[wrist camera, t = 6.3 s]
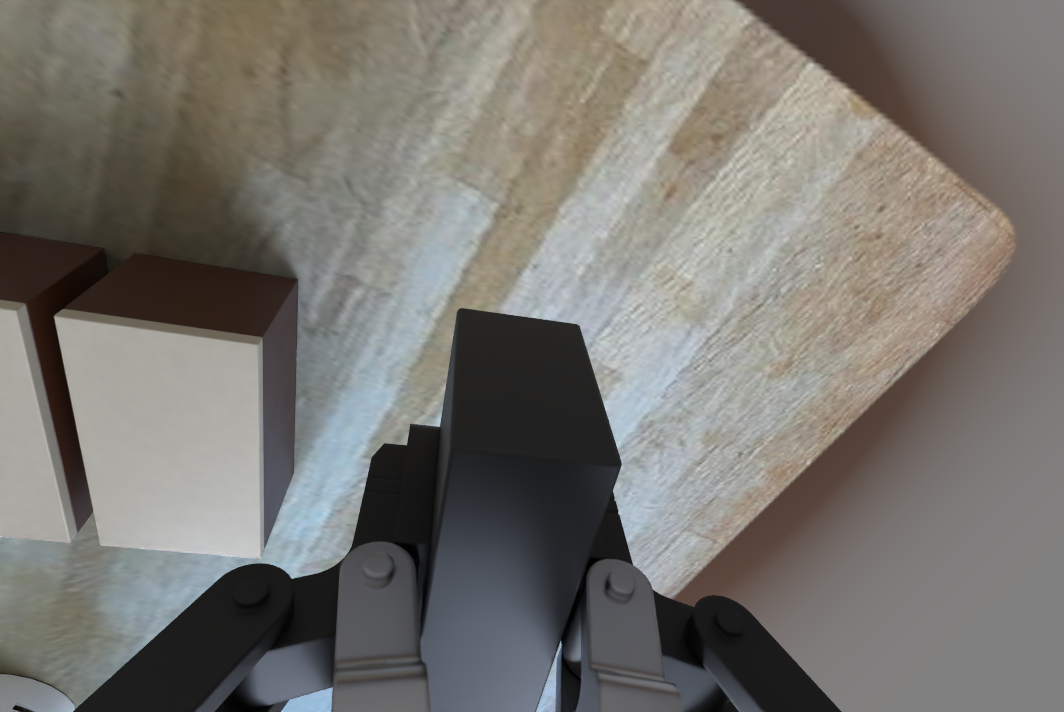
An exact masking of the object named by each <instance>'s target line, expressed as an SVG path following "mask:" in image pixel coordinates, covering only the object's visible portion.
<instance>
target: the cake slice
mask: <svg viewBox="0 0 1064 712" xmlns="http://www.w3.org/2000/svg"><path fill="white" fill-rule="evenodd" d="M106 275H107V267H106V260H105V254H104V249H103V248H97V247H91V246H84V245H78V244H72V243H66V242H59V241H53V240H47V239H41V238H34V237H28V236H22V235H16V234H9V233H3V232H0V537H8V538H20V539H32V540H44V541H56V542H68V543H70V542H71V541H72V540H73V538H74V537H75V536H76V534H77V532H79V530H80V529H81V528H82V526H83V525H84V524H85V522H86V521H87V520H88V518H89V517H90V515H91V514H92V513H93V507H92V502H91V497H90V492H89V487H88V482H87V477H86V472H85V467H84V462H83V457H82V452H81V448H80V443H79V438H78V433H77V428H76V423H75V418H74V413H73V408H72V403H71V398H70V393H69V388H68V383H67V378H66V373H65V368H64V363H63V359H62V354H61V349H60V344H59V339H58V334H57V329H56V324H55V319H54V316H55V315H56V314H57V313H58V312H59V311H61V310H62V309H64V307H66V306H67V305H68V304H70V303H71V302H72V301H74V300H75V299H76V298H77V297H79V296H80V295H81V294H83V293H84V292H85V291H86V290H88V289H89V288H90V287H92V286H93V285H94V284H95V283H97V282H98V281H99V280H101V279H102V278H103V277H105V276H106Z"/></svg>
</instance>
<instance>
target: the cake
mask: <svg viewBox="0 0 1064 712" xmlns="http://www.w3.org/2000/svg"><path fill="white" fill-rule="evenodd" d="M297 313H298V280H297V279H291V278H285V277H279V276H272V275H266V274H260V273H254V272H247V271H241V270H235V269H229V268H222V267H216V266H210V265H204V264H197V263H191V262H185V261H179V260H172V259H166V258H160V257H153V256H147V255H141V254H133V255H132V256H130V257H129V258H128V259H127V260H125V261H124V262H123V263H121V264H120V265H119V266H117V267H116V268H115V269H114V270H112V271H111V272H110V273H108V274H107V275H106V276H105V277H103V278H102V279H101V280H99V281H98V282H97V283H95V284H94V285H93V286H92V287H90V288H89V289H88V290H86V291H85V292H84V293H83V294H81V295H80V296H79V297H77V298H76V299H75V300H74V301H72V302H71V303H70V304H68V305H67V306H66V307H64V309H62V310H61V311H59V312H58V313H57V314H56V315H55V316H54V319H55V324H56V329H57V334H58V339H59V344H60V349H61V354H62V359H63V363H64V368H65V373H66V378H67V383H68V388H69V393H70V398H71V403H72V408H73V413H74V418H75V423H76V428H77V433H78V438H79V443H80V448H81V452H82V457H83V462H84V467H85V472H86V477H87V482H88V487H89V492H90V497H91V502H92V507H93V512H94V517H95V522H96V527H97V532H98V537H99V542H100V545H102V546H114V547H126V548H137V549H149V550H161V551H173V552H185V553H197V554H209V555H221V556H233V557H245V558H257V559H261V557H262V554H263V552H264V549H265V547H266V544H267V541H268V539H269V536H270V534H271V531H272V528H273V526H274V523H275V521H276V518H277V515H278V513H279V510H280V508H281V505H282V502H283V500H284V497H285V495H286V492H287V489H288V487H289V484H290V482H291V479H292V476H293V474H294V438H295V396H296V355H297Z"/></svg>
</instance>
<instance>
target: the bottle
mask: <svg viewBox="0 0 1064 712" xmlns="http://www.w3.org/2000/svg"><path fill="white" fill-rule="evenodd" d="M15 705H17V706H20V707H23V708H26V709H29V710H32V711H34V712H73V711H74V710H75V707H74V704H73V703H72V702H71V701H70V700H69V699H68V698H67V697H66V696H65V695H64V694H63V693H61V692H59V691H58V690H56V689H55V688H53V687H51V686H49V685H47V684H44V683H41V682H39V681H36V680H33V679H30V678H25V677H20V676H15V675H6V674H0V712H19V711H16V710H13V707H14V706H15Z"/></svg>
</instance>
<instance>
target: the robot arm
mask: <svg viewBox="0 0 1064 712" xmlns="http://www.w3.org/2000/svg"><path fill="white" fill-rule="evenodd" d="M439 439H440V427H435V426H426V425H417V424H410V430H409V437H408V443H407V446H406V445H396V444H386V443H384V444H383V446H382V447H381V448H380V449H379V450H378V451H377V452H376V453H375V454H374V456H373V457H372V459H371V463H370V468H369V472H368V478H367V481H366V486H365V491H364V495H363V499H362V504H361V508H360V513H359V517H358V522H357V526H356V531H355V535H354V540H353V544H352V547H351V549H350V551H349V552H348V554H347V555H346V556H345V558H344V559H342V560H341V561H340V562H339V563H338V564H336V565H335V566H334V567H332V568H330V569H328V570H326V571H323V572H321V573H317V574H313V575H308V576H303V577H299V578H294V579H291V578H290V576H289V575H288V574H287V573H286V572H285V571H284V570H282V569H281V568H279V567H276V566H274V565H269V564H261V563H260V564H249V565H245V566H241V567H238V568H236V569H234V570H231V571H230V572H228V573H226V574H225V575H224V576H222V577H221V578H220V579H219V580H217V581H216V582H215V583H214V584H213V585H212V586H211V587H210V588H209V589H208V590H206V591H205V592H204V593H203V594H202V595H201V596H200V597H199V598H198V599H196V600H195V601H194V602H193V603H192V604H191V605H190V606H189V607H188V608H187V609H185V610H184V611H183V612H182V613H181V614H180V615H179V616H178V617H177V618H176V619H174V620H173V621H172V622H171V623H170V624H169V625H168V626H167V627H166V628H165V629H163V630H162V631H161V632H160V633H159V634H158V635H157V636H156V637H155V638H154V639H152V640H151V641H150V642H149V643H148V644H147V645H146V646H145V647H144V648H142V649H141V650H140V651H139V652H138V653H137V654H136V655H135V656H134V657H133V658H131V659H130V660H129V661H128V662H127V663H126V664H125V665H124V666H123V667H122V668H120V669H119V670H118V671H117V672H116V673H115V674H114V675H113V676H112V677H111V678H109V679H108V680H107V681H106V682H105V683H104V684H103V685H102V686H101V687H100V688H98V689H97V690H96V691H95V692H94V693H93V694H92V695H91V696H90V697H88V698H87V699H86V700H85V701H84V702H83V703H82V704H81V705H80V706H79V707H77V708H76V709H75V710H74V711H73V712H281V710H282V709H283V708H284V707H285V705H286V704H287V702H288V701H289V699H293V698H296V697H300V696H303V695H307V694H310V693H314V692H317V691H320V690H324V689H327V688H331V687H333V692H332V710H331V712H431V706H430V693H429V680H428V671H427V666H426V663H425V662H422V657H421V644H420V629H419V616H420V610H421V603H422V597H423V591H424V584H425V578H426V572H427V565H428V559H429V553H430V547H431V536H432V524H433V512H434V500H435V488H436V475H437V463H438V451H439ZM614 498H615V497H614V494H613V491H612V494H611V497H610V500H609V503H608V506H607V509H606V511H605V514H604V517H603V520H602V523H601V526H600V529H599V532H598V534H597V537H596V540H595V543H594V546H593V549H592V552H591V555H590V557H589V560H588V563H587V566H586V569H585V572H584V575H583V578H582V580H581V583H580V586H579V589H578V592H577V595H576V598H575V601H574V603H573V606H572V609H571V612H570V615H569V618H568V621H567V624H566V626H565V629H564V632H563V635H562V638H561V643H562V646H561V649H560V652H559V655H558V658H557V672H556V712H739V711H740V712H841V711H840V710H839V709H838V708H837V706H836V705H835V704H834V703H833V702H832V701H831V700H830V699H829V698H828V697H827V695H826V694H825V693H824V692H823V691H822V690H821V689H820V688H819V687H818V686H817V685H816V684H815V683H814V681H813V680H812V679H811V678H810V677H809V676H808V675H807V674H806V673H805V672H804V670H802V668H801V667H800V666H799V665H798V664H797V663H796V662H795V661H794V660H793V659H792V657H791V656H790V655H789V654H788V653H787V652H786V651H785V650H784V649H783V648H782V647H781V645H779V643H778V642H777V641H776V640H775V639H774V638H773V637H772V636H771V635H770V634H769V633H768V631H767V630H766V629H765V628H764V627H763V626H762V625H761V624H760V623H759V622H758V620H757V619H756V618H755V617H754V616H753V615H752V614H751V613H750V612H749V611H748V610H747V609H745V608H744V607H743V606H742V605H740V604H739V603H737V602H735V601H733V600H731V599H729V598H726V597H723V596H715V595H712V596H706V597H703V598H702V599H700V600H699V601H698V602H697V603H696V605H695V607H692V606H689V605H686V604H683V603H681V602H678V601H675V600H672V599H670V598H667V597H665V596H662V595H660V594H659V593H657V592H655V591H654V590H653V589H652V586H651V584H650V582H649V580H648V579H647V577H646V576H645V575H644V574H643V573H642V572H641V571H640V570H639V569H637V568H636V567H635V566H633V563H632V560H631V556H630V552H629V549H628V545H627V541H626V538H625V534H624V530H623V527H622V523H621V519H620V516H619V515H618V508H617V505H616V501H614ZM730 700H731V701H732V702H733V703H732V702H731V701H730ZM733 704H734V705H735V706H736V707H737V708H736V707H735V706H734V705H733ZM737 709H738V710H739V711H738V710H737Z"/></svg>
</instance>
